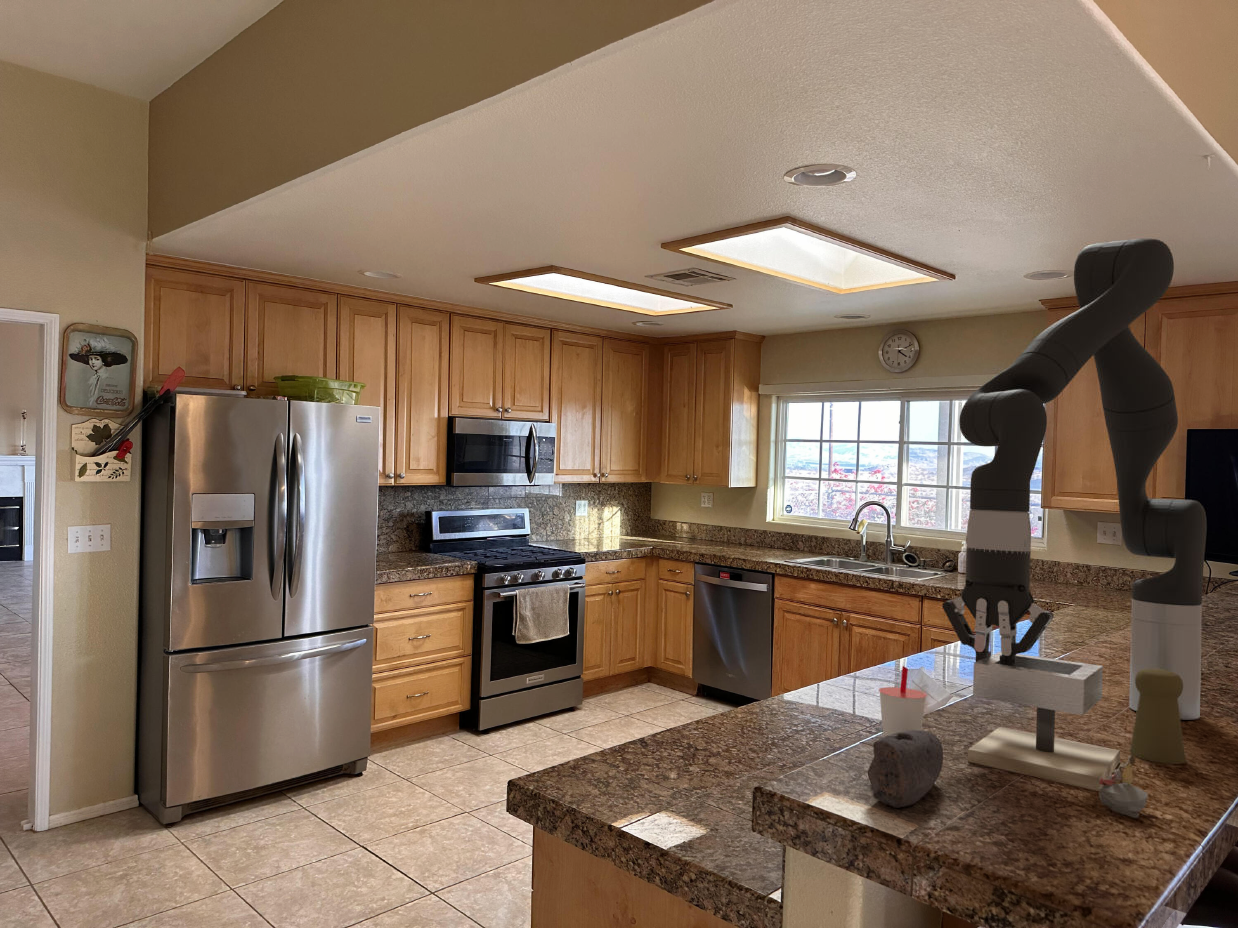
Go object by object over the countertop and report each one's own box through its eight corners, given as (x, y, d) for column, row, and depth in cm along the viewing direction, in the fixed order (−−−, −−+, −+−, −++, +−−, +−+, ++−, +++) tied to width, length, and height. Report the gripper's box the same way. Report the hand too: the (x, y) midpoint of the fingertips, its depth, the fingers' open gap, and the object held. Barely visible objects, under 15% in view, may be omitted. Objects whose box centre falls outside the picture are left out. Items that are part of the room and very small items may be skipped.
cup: (921, 764, 100) (924, 663, 101) (927, 779, 95) (930, 672, 96) (874, 759, 102) (877, 659, 102) (878, 773, 96) (881, 668, 97)
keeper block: (999, 737, 113) (1001, 666, 113) (1119, 762, 104) (1121, 685, 105) (968, 761, 102) (970, 682, 103) (1098, 790, 93) (1100, 704, 94)
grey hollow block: (999, 681, 112) (1000, 651, 113) (1101, 698, 105) (1102, 665, 105) (972, 695, 103) (973, 662, 103) (1083, 715, 96) (1083, 679, 96)
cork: (1194, 765, 104) (1196, 676, 105) (1140, 760, 105) (1142, 672, 106) (1172, 751, 110) (1174, 666, 110) (1122, 746, 111) (1124, 663, 112)
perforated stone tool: (914, 773, 97) (916, 713, 97) (960, 786, 93) (962, 723, 94) (854, 806, 86) (856, 738, 86) (904, 821, 82) (906, 750, 83)
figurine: (1144, 824, 84) (1146, 764, 84) (1094, 813, 87) (1095, 754, 87) (1150, 809, 88) (1151, 752, 89) (1102, 799, 91) (1103, 743, 91)
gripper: (1063, 549, 106) (1060, 687, 106) (952, 542, 115) (948, 669, 114) (1050, 551, 101) (1046, 697, 100) (934, 543, 109) (929, 677, 109)
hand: (994, 681), depth 107 cm, fingers closed on grey hollow block
